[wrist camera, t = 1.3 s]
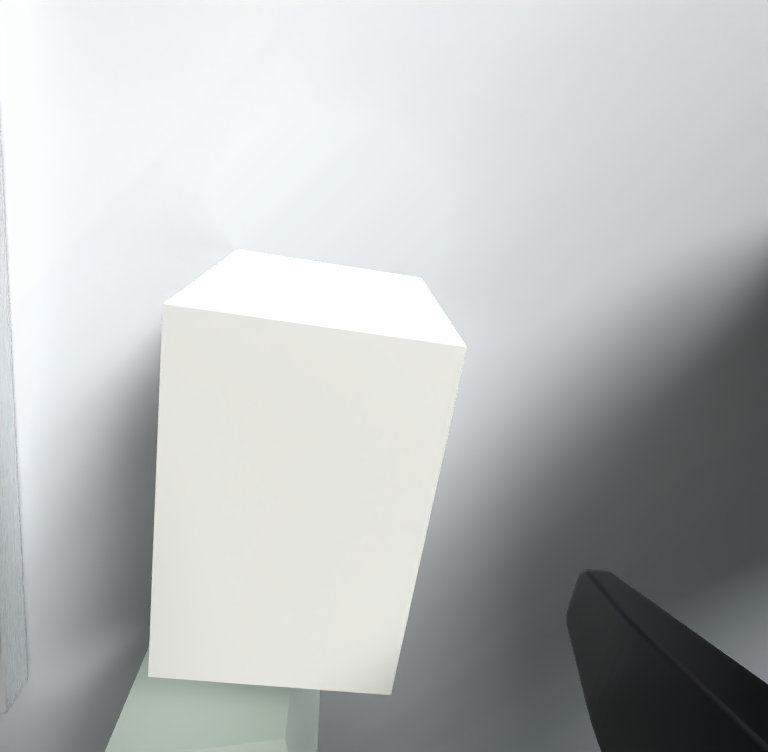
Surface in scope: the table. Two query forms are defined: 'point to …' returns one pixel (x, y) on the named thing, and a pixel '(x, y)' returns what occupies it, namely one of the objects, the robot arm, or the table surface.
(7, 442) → the rail
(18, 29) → the table surface
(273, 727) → the block
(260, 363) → the block
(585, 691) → the robot arm
